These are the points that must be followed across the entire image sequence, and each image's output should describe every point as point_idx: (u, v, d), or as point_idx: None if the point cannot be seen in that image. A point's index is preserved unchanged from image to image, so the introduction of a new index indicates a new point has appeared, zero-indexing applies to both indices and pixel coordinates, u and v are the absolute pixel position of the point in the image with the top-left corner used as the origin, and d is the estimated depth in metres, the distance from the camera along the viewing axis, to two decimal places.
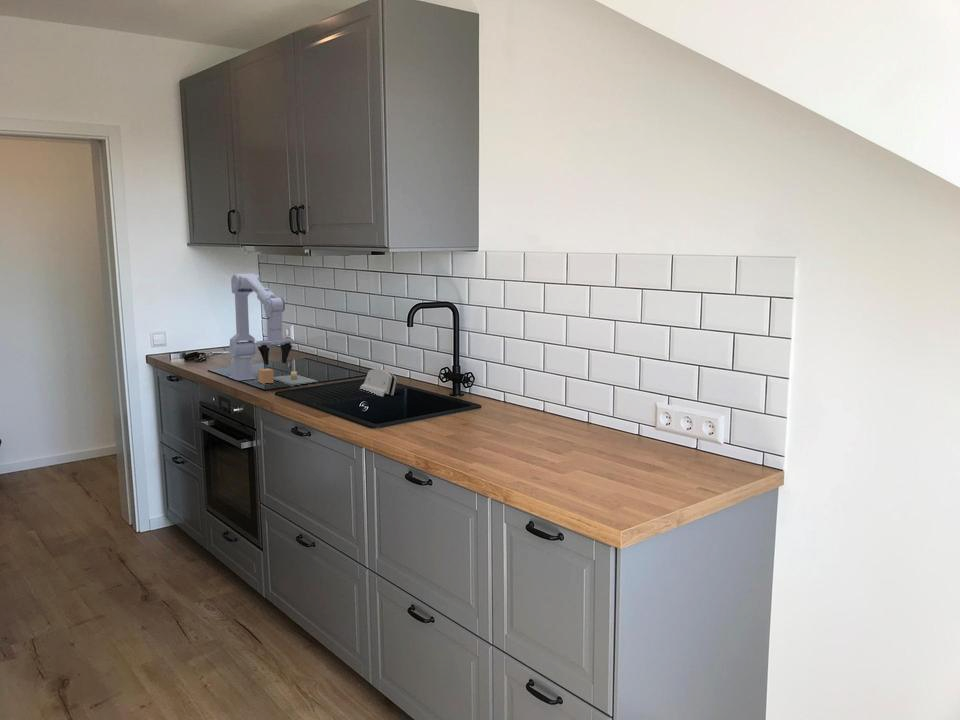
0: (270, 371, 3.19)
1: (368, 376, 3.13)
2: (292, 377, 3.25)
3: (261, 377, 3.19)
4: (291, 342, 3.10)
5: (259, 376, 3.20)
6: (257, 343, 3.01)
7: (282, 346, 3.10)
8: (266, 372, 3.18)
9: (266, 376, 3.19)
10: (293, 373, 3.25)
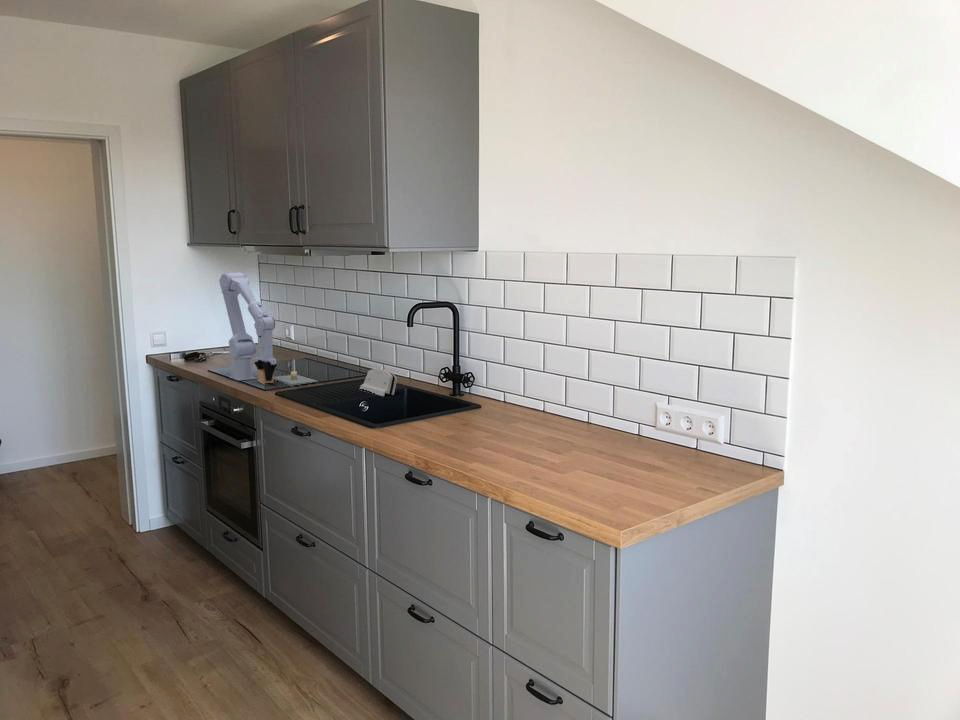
0: None
1: (368, 376, 3.13)
2: (292, 377, 3.25)
3: (261, 377, 3.19)
4: (271, 362, 3.14)
5: (259, 376, 3.20)
6: None
7: None
8: None
9: None
10: (293, 373, 3.25)
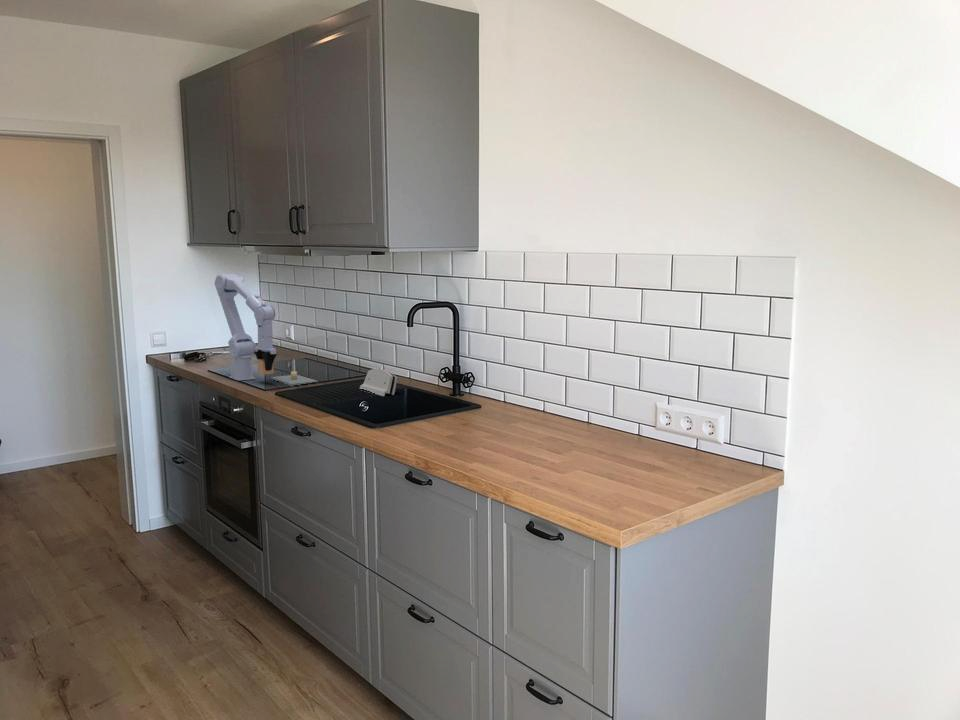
0: None
1: (368, 376, 3.13)
2: (292, 377, 3.25)
3: (261, 367, 3.18)
4: (270, 352, 3.14)
5: (259, 366, 3.19)
6: None
7: None
8: None
9: None
10: (293, 373, 3.25)
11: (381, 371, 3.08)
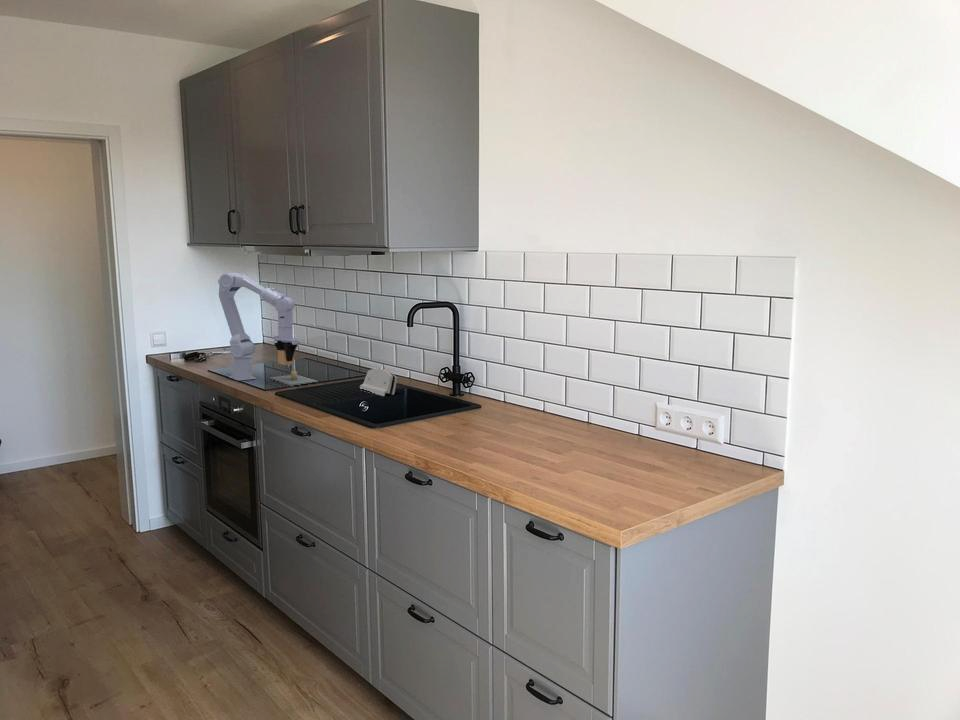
0: None
1: (367, 376, 3.13)
2: (292, 377, 3.25)
3: (282, 358, 3.21)
4: (292, 342, 3.17)
5: (279, 357, 3.22)
6: None
7: None
8: None
9: None
10: (293, 373, 3.25)
11: (381, 371, 3.08)
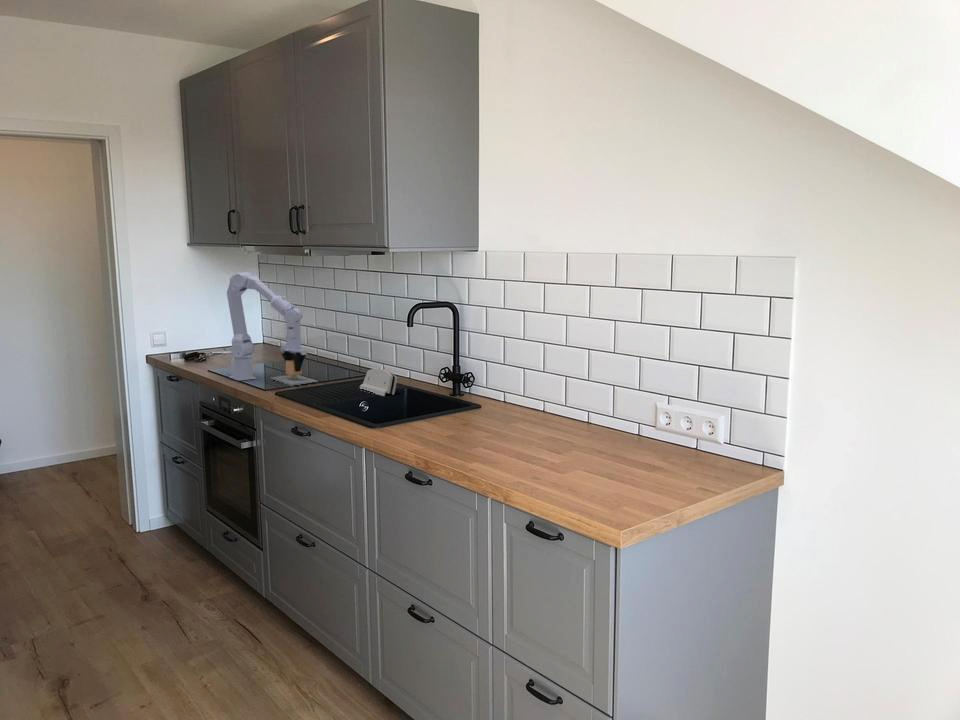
0: None
1: (367, 376, 3.13)
2: (292, 377, 3.25)
3: (290, 368, 3.23)
4: (302, 353, 3.20)
5: (288, 367, 3.24)
6: None
7: None
8: None
9: None
10: None
11: (381, 371, 3.08)
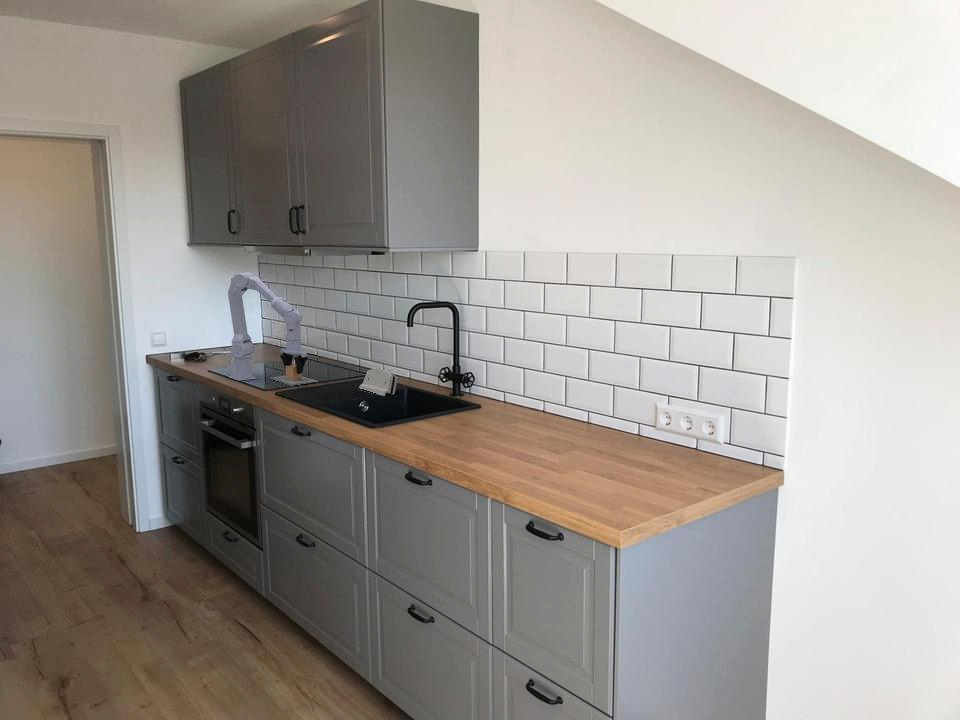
0: None
1: (367, 376, 3.13)
2: None
3: (290, 373, 3.24)
4: (302, 355, 3.20)
5: (288, 372, 3.24)
6: None
7: None
8: (295, 368, 3.23)
9: (295, 372, 3.24)
10: None
11: (381, 371, 3.08)
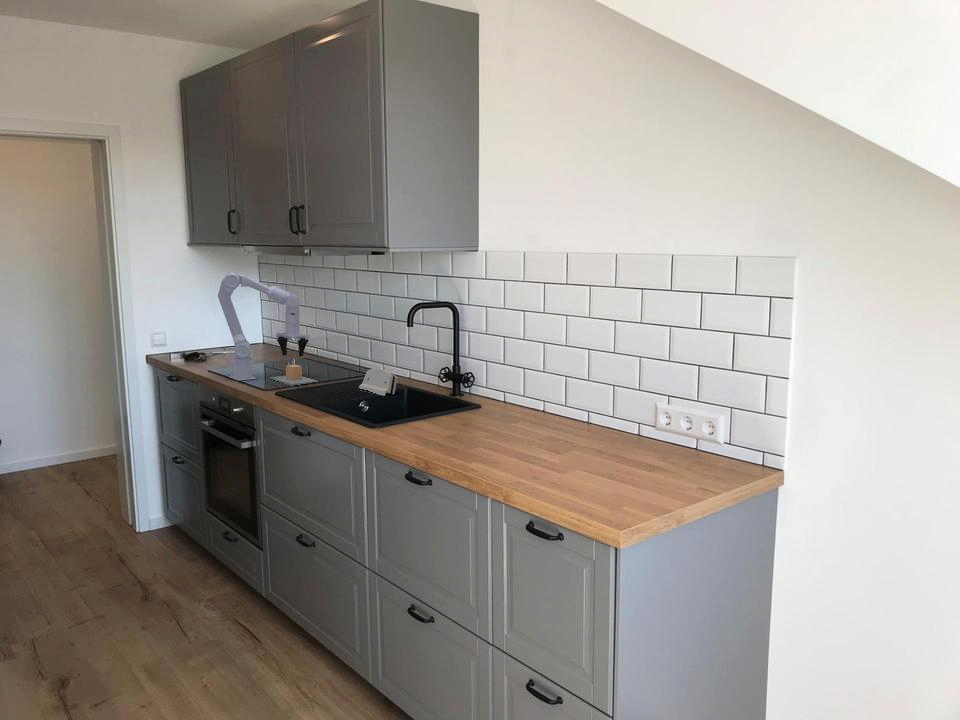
0: (299, 367, 3.25)
1: (367, 376, 3.13)
2: None
3: (290, 373, 3.24)
4: (305, 337, 3.30)
5: (288, 372, 3.24)
6: None
7: None
8: (295, 368, 3.23)
9: (295, 372, 3.24)
10: None
11: (381, 371, 3.09)
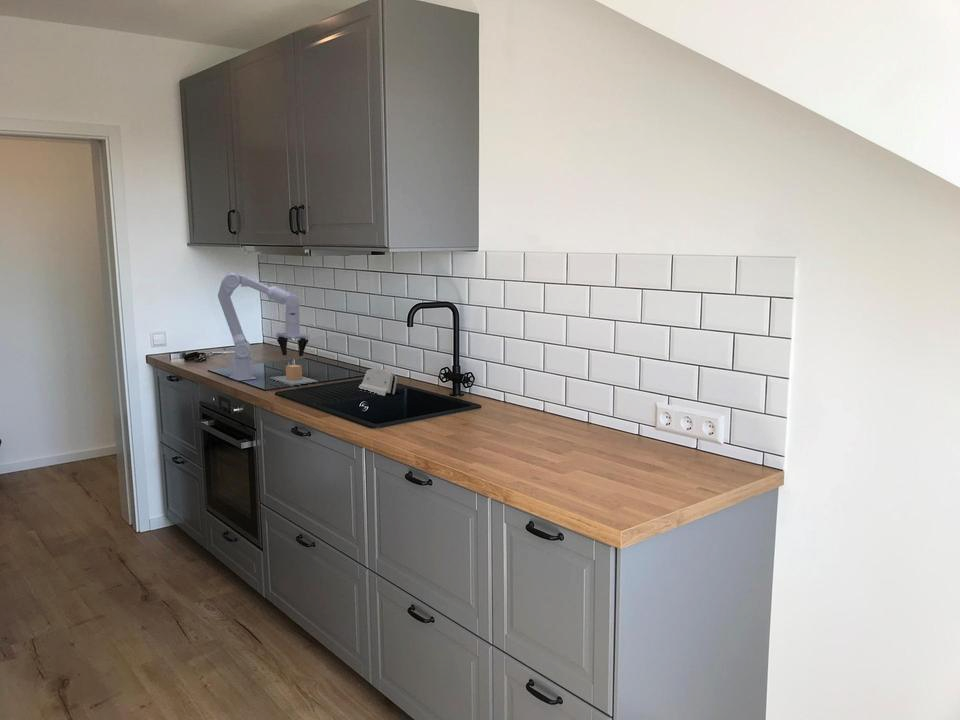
0: (299, 367, 3.25)
1: (366, 376, 3.13)
2: None
3: (290, 373, 3.24)
4: (305, 337, 3.30)
5: (288, 372, 3.24)
6: None
7: None
8: (295, 368, 3.23)
9: (295, 372, 3.24)
10: None
11: (380, 371, 3.09)
